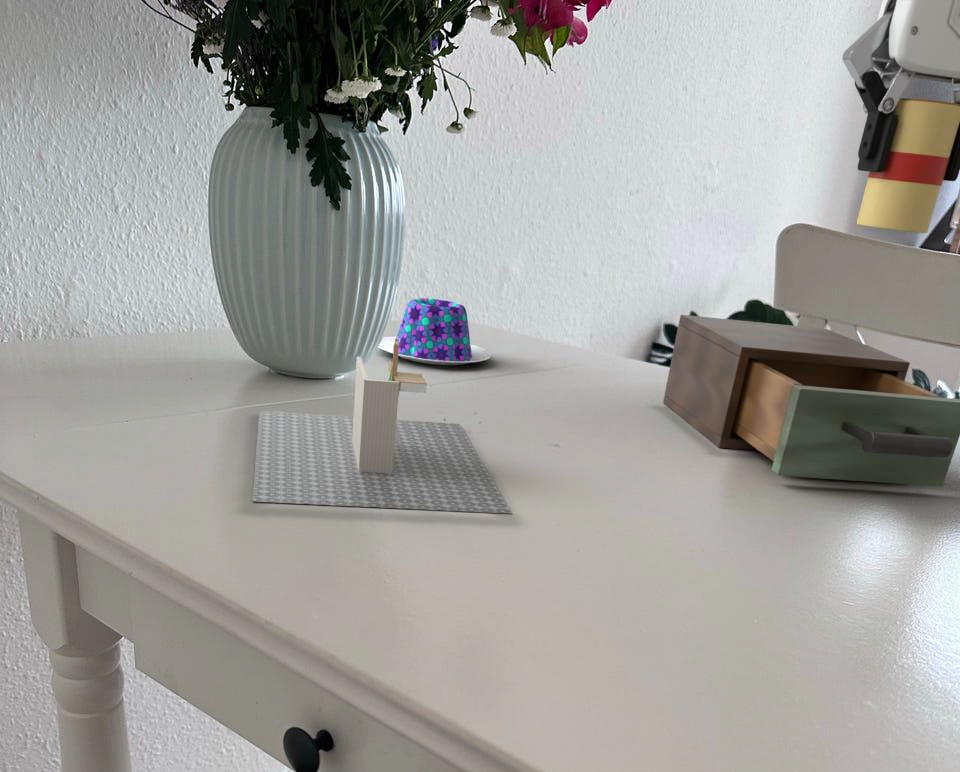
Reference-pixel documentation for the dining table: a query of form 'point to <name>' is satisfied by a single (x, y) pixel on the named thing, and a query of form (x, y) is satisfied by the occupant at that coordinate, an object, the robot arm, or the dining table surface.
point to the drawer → (846, 423)
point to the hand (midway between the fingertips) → (906, 173)
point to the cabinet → (723, 361)
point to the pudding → (435, 334)
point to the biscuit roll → (912, 167)
